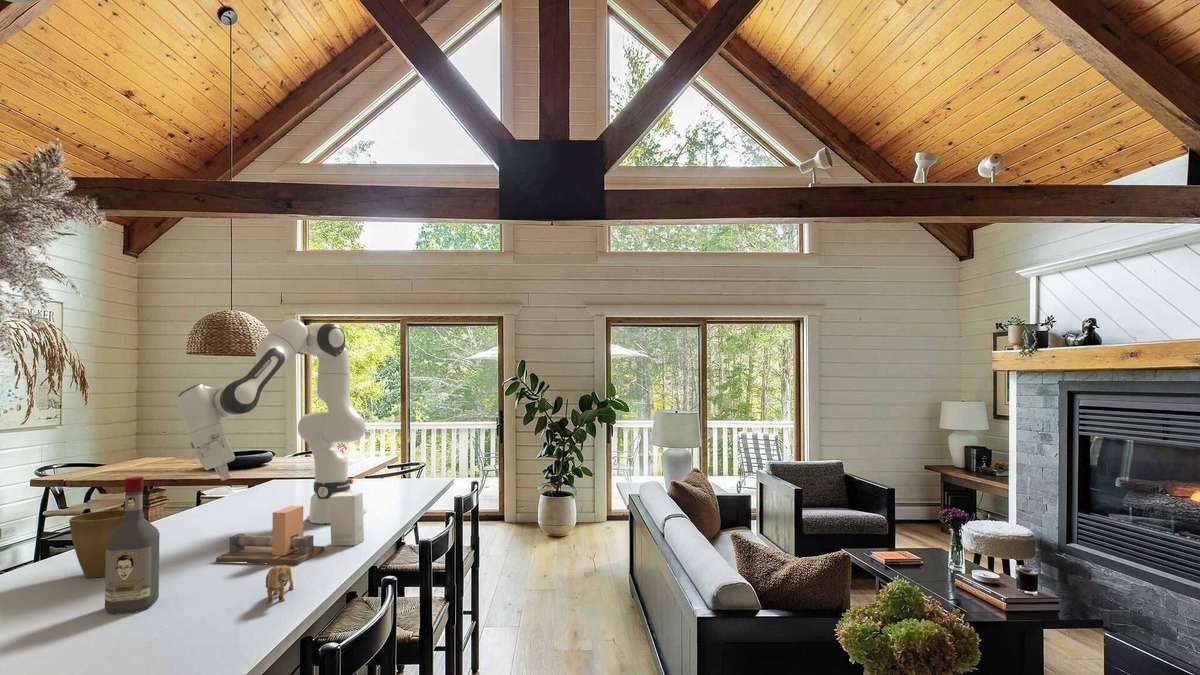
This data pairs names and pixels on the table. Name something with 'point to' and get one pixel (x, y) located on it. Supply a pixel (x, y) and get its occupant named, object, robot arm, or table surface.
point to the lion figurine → (278, 581)
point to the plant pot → (93, 539)
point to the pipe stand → (268, 550)
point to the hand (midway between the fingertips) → (226, 479)
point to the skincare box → (346, 519)
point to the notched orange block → (286, 529)
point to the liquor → (132, 557)
